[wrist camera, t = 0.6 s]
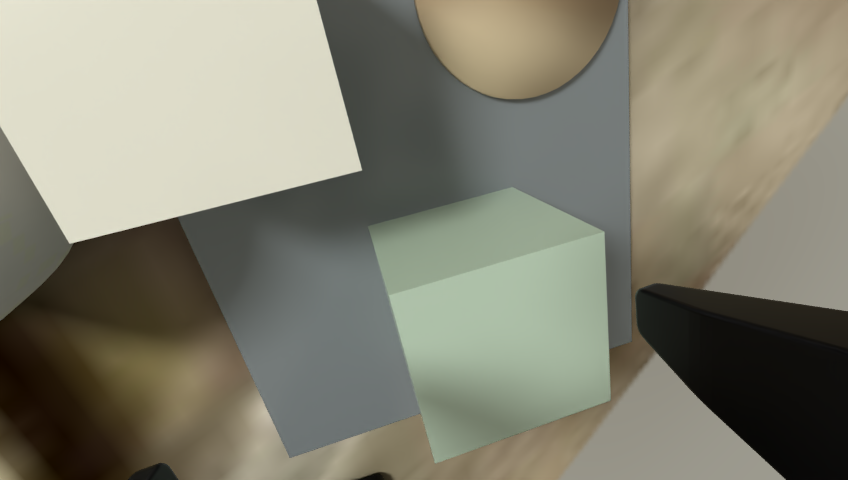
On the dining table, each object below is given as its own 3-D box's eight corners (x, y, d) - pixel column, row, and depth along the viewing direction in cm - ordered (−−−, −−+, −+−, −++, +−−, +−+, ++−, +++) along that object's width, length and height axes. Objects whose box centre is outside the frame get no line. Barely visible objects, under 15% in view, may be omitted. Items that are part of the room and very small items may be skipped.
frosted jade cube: (528, 311, 22) (610, 400, 16) (402, 351, 21) (435, 463, 15) (512, 187, 19) (604, 231, 13) (367, 226, 18) (388, 295, 12)
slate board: (625, 336, 25) (631, 341, 24) (290, 448, 22) (289, 457, 22) (614, -216, 15) (625, -227, 15) (21, -138, 13) (6, -149, 12)
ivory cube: (349, 142, 17) (362, 170, 10) (174, 185, 16) (69, 243, 10) (294, -58, 14) (266, -186, 8) (79, -22, 13) (-153, -132, 7)
